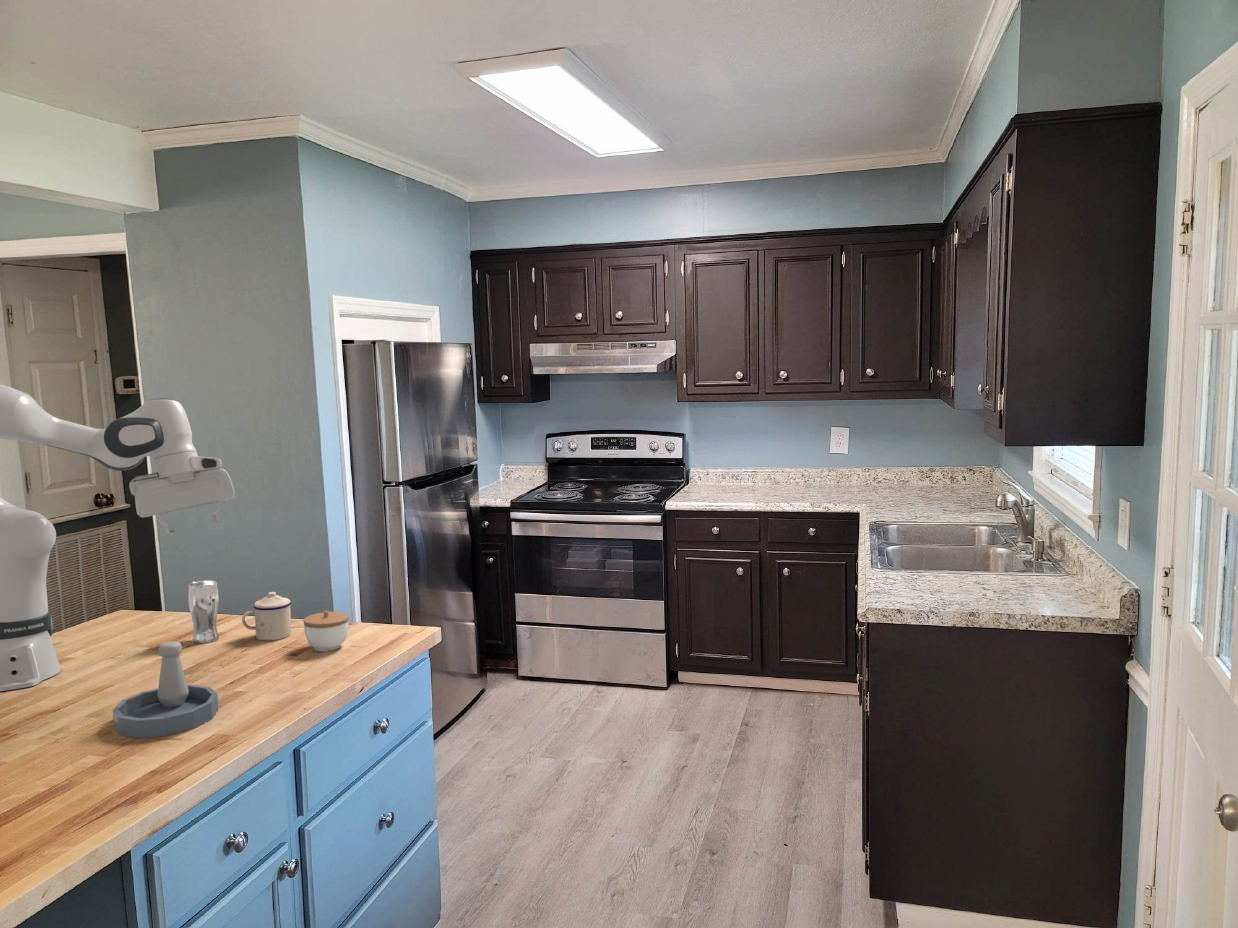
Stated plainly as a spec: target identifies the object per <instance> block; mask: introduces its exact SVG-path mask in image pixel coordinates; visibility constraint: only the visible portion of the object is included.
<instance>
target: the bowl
mask: <svg viewBox="0 0 1238 928" xmlns="http://www.w3.org/2000/svg"><path fill="white" fill-rule="evenodd" d="M187 686H188V690H189V694H188V696H187V699H186V701H185V703H184V704H182V705H181V706H178V707H172V708H166V707H163V706H162V705H161V703H160V701H159V699H158V696H157V694H158V688H154V689H149V690H145V691H141V692H139V693H136V694H132V696H129V697H127V698H125V699H123V700H121V701H120V702H118V704H117V705H116V706H115V707H114V708H113V709H112V718H113V728H114V730H115V731H116V732H117V734H118V735H119V736H122V737H123V736H124V737H128V738H136V739H146V738H147V739H149V738H160V737H167V736H172V735H175V734H179V733H183V732H186V731H190V730H194V729H196V728H198V727H200V726H202V725H204V724H206V723H208V722H210V721H212V720H213V719H214V717H215V716H216V714H217V713H216V712H218V711H219V697H218V692H216V691H215V690H214V689H213V688H212V687H211V686H205V685H199V684H187ZM214 715H215V716H214ZM211 719H212V720H211ZM209 720H210V721H209ZM205 722H206V723H205Z"/></svg>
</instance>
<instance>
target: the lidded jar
mask: <svg viewBox="0 0 1238 928" xmlns="http://www.w3.org/2000/svg"><path fill="white" fill-rule="evenodd" d="M349 619H350V618H349V614H347V613H345V612H341V611H340V612H339V611H328V610H324V611H323V612H319V613H318V612H317V613H313V614H309V615H308V616H306V617H305V618H303V627H304V628H303V629H304V635H305V639H306V641H307V643H308V644H309V645H310V646H311V647H312V648H313V649H314V651H316V650H319V651H318V652H329V651H328V650H332V651H335V650H338V649H339V648H340V647H341V646H342V644H343V643H344V642H345V641H346V638H347V636H348V632H349ZM334 649H335V650H334Z"/></svg>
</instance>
